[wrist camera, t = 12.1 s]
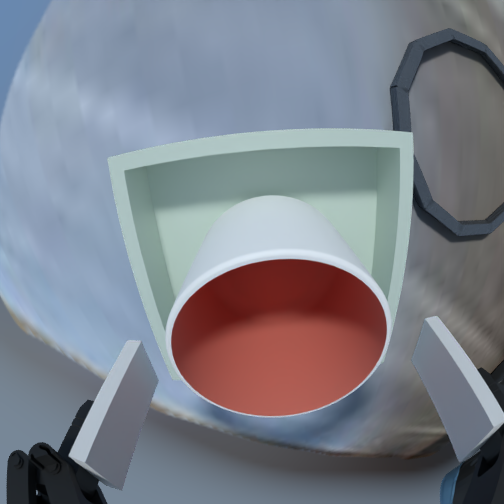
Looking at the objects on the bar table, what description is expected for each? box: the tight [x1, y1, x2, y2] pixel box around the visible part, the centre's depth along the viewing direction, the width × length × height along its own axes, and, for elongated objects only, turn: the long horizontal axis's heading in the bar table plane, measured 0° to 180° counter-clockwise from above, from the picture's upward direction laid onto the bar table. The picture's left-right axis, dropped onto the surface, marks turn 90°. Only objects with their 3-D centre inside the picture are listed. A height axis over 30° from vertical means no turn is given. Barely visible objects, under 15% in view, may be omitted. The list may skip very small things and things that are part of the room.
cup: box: [165, 195, 392, 418], centre depth 16 cm, size 10×10×10 cm
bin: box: [108, 129, 414, 380], centre depth 19 cm, size 18×18×4 cm
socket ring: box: [390, 28, 504, 236], centre depth 15 cm, size 18×18×1 cm
